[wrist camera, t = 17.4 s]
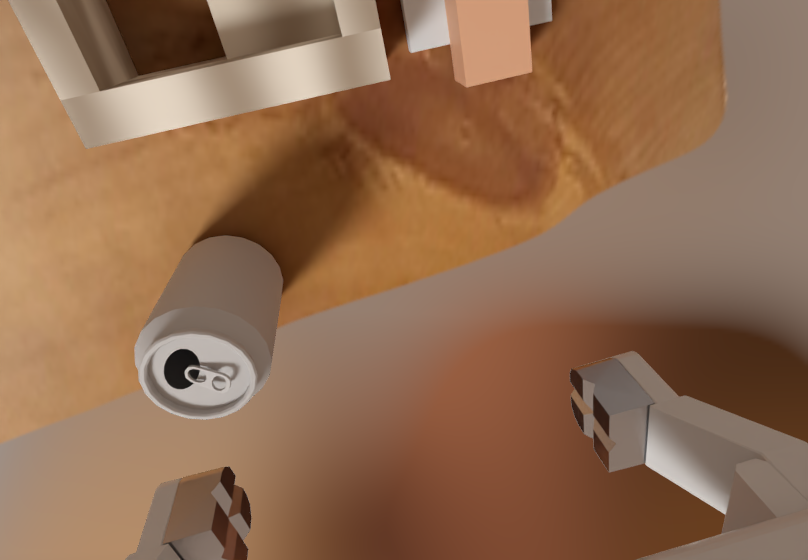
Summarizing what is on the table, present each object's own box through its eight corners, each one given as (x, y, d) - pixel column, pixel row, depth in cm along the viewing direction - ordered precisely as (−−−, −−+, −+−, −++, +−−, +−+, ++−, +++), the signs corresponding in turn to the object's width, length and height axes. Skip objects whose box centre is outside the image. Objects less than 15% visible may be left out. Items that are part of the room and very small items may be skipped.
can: (190, 217, 35) (133, 309, 24) (295, 246, 37) (284, 342, 27) (172, 304, 38) (115, 418, 28) (270, 326, 40) (251, 440, 30)
